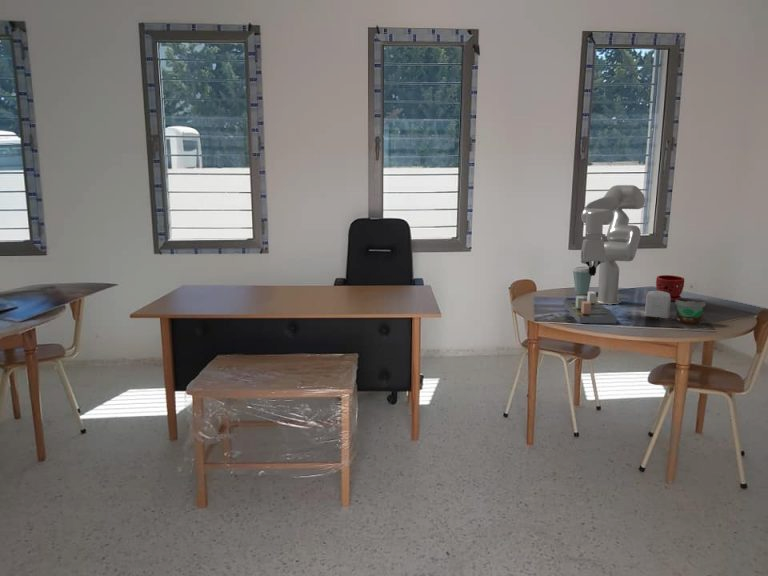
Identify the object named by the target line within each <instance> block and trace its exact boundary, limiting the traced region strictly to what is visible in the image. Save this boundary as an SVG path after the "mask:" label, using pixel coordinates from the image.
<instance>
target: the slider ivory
mask: <svg viewBox="0 0 768 576" xmlns="http://www.w3.org/2000/svg"><path fill="white" fill-rule="evenodd" d="M586 295H587V296H586V297H587V298H586V301H589V302H590V303H596V298H597V293H596V292H595V291H588V294H586Z"/></svg>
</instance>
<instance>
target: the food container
mask: <svg viewBox="0 0 768 576" xmlns="http://www.w3.org/2000/svg"><path fill="white" fill-rule="evenodd" d="M674 304H675V305H676V306H675V307H676V308H675V309H676V322H678V323H680V324H684V323H685V325H699V324H701V321H702V317H703V312H704V307H706V305H707V304H706V301H705V300H704V301H693V300H685V301H684V300H677V299H676V301H674Z"/></svg>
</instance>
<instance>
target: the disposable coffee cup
mask: <svg viewBox="0 0 768 576" xmlns="http://www.w3.org/2000/svg"><path fill="white" fill-rule="evenodd" d="M572 273H573V283H574V291H575V294H576V295H579V296H581V295H583V296H584V295H588V292H590V286H591V280H592V276H591V275H590V274H589V266H588V265H586V266H575V267H574V268H573V269H572Z"/></svg>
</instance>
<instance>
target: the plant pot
mask: <svg viewBox="0 0 768 576" xmlns="http://www.w3.org/2000/svg"><path fill="white" fill-rule="evenodd" d="M655 279H656V281H655V286H656V291H664V292H667V293H669V294H670V297H671V301H670V302H675V301H676V299H677V300H679V301H681V300H680V299H682V297H681V294H682V293H683V290H684V286H685V278H684V277H682V276H677V275H671V274H670V275H669V274H664V275H662V274H661V275H658V276H656V278H655Z"/></svg>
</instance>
